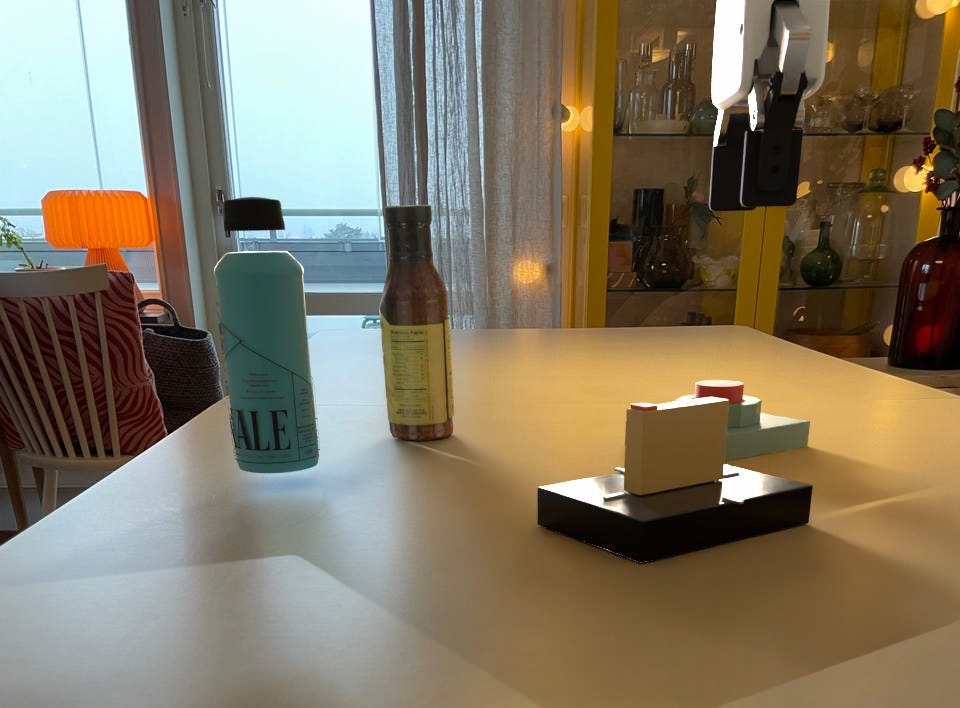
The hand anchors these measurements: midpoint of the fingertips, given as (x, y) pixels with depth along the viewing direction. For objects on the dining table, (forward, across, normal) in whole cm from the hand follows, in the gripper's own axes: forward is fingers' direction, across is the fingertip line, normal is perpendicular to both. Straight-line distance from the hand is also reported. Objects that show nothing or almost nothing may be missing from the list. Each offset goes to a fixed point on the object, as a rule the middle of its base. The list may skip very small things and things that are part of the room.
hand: (748, 208), depth 62 cm
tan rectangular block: (+16, -8, +5) cm, 19 cm away
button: (+15, +16, -2) cm, 22 cm away
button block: (+18, +16, -2) cm, 25 cm away
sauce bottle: (+19, +23, +24) cm, 38 cm away
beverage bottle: (+19, +4, +33) cm, 38 cm away
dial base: (+18, -8, +5) cm, 21 cm away
